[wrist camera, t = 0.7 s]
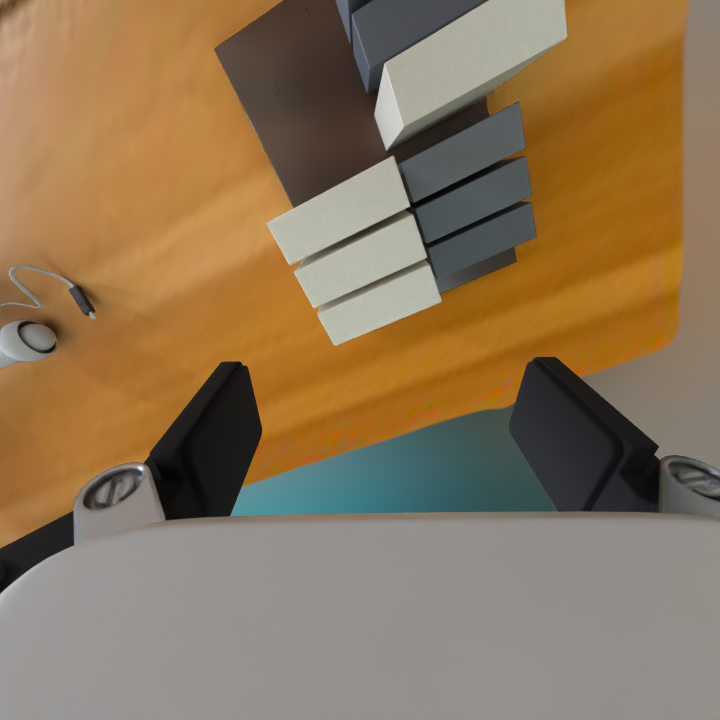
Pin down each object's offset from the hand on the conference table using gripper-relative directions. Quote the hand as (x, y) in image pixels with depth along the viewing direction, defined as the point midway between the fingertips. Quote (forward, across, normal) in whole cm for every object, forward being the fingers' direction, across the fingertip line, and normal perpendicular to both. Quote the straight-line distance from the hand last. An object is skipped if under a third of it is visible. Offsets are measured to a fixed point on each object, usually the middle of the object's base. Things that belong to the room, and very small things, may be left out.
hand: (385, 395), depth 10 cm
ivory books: (+26, +1, -1) cm, 26 cm away
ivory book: (+26, -5, -12) cm, 30 cm away
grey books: (+26, -6, -11) cm, 29 cm away
